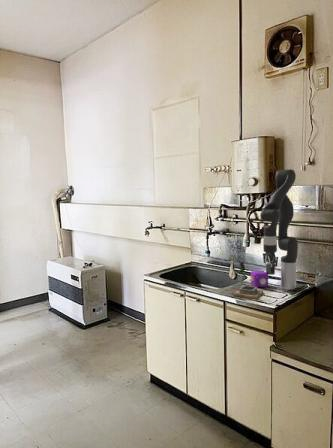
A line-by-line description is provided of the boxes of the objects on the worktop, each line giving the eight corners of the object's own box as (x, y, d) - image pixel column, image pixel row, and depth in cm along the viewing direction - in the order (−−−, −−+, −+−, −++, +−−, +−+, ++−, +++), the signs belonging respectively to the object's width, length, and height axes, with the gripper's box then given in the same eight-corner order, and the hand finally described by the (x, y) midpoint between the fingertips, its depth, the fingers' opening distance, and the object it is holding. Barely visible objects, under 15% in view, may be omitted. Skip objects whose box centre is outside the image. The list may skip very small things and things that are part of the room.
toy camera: (258, 290, 219) (258, 274, 218) (247, 284, 232) (247, 270, 231) (273, 288, 222) (273, 273, 221) (262, 282, 235) (262, 268, 234)
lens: (267, 272, 206) (267, 260, 205) (275, 273, 203) (275, 261, 202) (264, 274, 201) (264, 262, 201) (273, 275, 199) (273, 263, 198)
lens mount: (241, 289, 221) (241, 283, 220) (263, 292, 213) (263, 286, 213) (233, 295, 209) (233, 289, 209) (255, 299, 201) (255, 292, 201)
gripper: (282, 245, 194) (282, 274, 196) (269, 241, 208) (270, 269, 210) (270, 245, 193) (270, 275, 194) (258, 242, 207) (258, 270, 208)
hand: (270, 272), depth 202 cm, fingers closed on lens, 5 cm apart
